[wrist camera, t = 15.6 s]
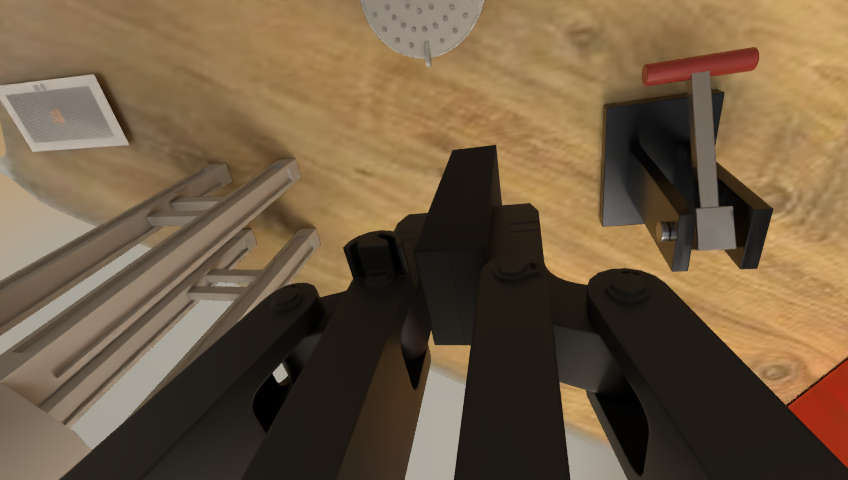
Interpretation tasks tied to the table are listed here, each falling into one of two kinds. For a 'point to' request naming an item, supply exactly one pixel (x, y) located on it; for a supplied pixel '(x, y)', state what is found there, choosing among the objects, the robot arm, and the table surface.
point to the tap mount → (670, 180)
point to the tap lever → (704, 136)
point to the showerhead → (422, 24)
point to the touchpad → (62, 114)
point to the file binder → (827, 411)
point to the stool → (130, 307)
